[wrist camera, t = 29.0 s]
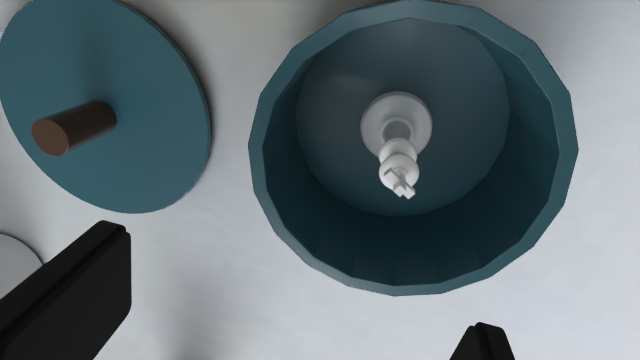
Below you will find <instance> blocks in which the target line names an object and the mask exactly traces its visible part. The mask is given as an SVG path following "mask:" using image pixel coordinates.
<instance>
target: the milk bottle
mask: <svg viewBox="0 0 640 360" xmlns="http://www.w3.org/2000/svg"><path fill="white" fill-rule="evenodd" d="M41 266H42V264H41V262H40V260H39V259H38V257H37V256H36V254H35V253H34V252H33V251H32V250H31V249H30V248H28V247H27V246H26V245H25V244H23V243H22V242H20V241H19V240H17V239H14V238H12V237H10V236H7V235H2V234H0V299H1V298H3V297H4V296H5V295H6V294H7V293H9V292H10V291H11V290H12V289H14V288H15V287H16V286H17V285H19V284H20V283H21V282H22V281H24V280H25V279H26V278H27V277H29V276H30V275H31V274H32V273H34V272H35V271H36V270H37V269H38V268H40V267H41Z"/></svg>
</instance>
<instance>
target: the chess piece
mask: <svg viewBox="0 0 640 360" xmlns="http://www.w3.org/2000/svg"><path fill="white" fill-rule="evenodd" d="M432 126H433V122H432V116H431V113H430V110H429V109H428V107H427V105H426V104H425V103H424V102H423V101H422V100H421V99H420V98H418V97H417V96H415V95H413V94H411V93H408V92H403V91H392V92H388V93H384V94H382V95H380V96H378V97H376V98H375V99H374V100H373V101H371V102H370V103H369V105H368V106H367V107H366V109H365V110H364V112H363V115H362V118H361V123H360V130H361V135H362V139H363V141H364V143H365V145H366V147H367V148H368V149H369V151H370V152H371V153H373V154H374V155H375V156H377V157H379V161H380V163H381V166H380V169H379V176H380V179H381V181H382V183H383V184H384V185H385V186H386V187H388V188H390V189H392V190H393V191H394V192H395V193H396V194H397V195H398V196H399V197H400V196H402V195H404V196H406V197H407V198H408V199H409V198H411V197H412V196H413V195H414V194H415V189H413V188H412V186H413V185H414V184H415V183H416V181H417V179H418V177H419V168H418V165H417V163H416V160H417V154H419V153H420V152H421V151H422V150H423V149H424V148H425V147H426V145H427V144H428V142H429V140H430V137H431V133H432Z"/></svg>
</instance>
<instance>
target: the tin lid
mask: <svg viewBox="0 0 640 360" xmlns="http://www.w3.org/2000/svg"><path fill="white" fill-rule="evenodd" d="M0 99H1V103H2V106H3V109H4V112H5V115H6V117H7V119H8V122H9V124H10V126H11V128H12V130H13V132H14V134H15V135H16V137H17V139H18V141H19V142H20V144H21V145H22V147H23V148H24V149H25V151H26V152H27V154H28V155H29V156H30V157H31V159H32V160H33V161H34V162H35V163H36V165H37V166H38V167H39V168H40V169H41V170H42V171H43V172H44V173H45V174H46V175H47V176H48V177H50V178H51V179H52V180H53V181H54V182H56V183H57V184H58V185H59V186H61V187H62V188H63V189H65V190H66V191H68V192H69V193H71V194H73V195H74V196H76V197H78V198H79V199H81V200H83V201H85V202H88V203H90V204H92V205H94V206H97V207H100V208H103V209H106V210H111V211H115V212H121V213H147V212H153V211H157V210H160V209H163V208H166V207H168V206H170V205H172V204H174V203H175V202H177V201H178V200H180V199H181V198H182V197H183V196H185V195H186V194H187V193H188V192H189V191H190V190H191V189H192V188H193V187H194V185H195V184H196V182H197V181H198V180H199V178H200V176H201V174H202V172H203V170H204V169H205V166H206V163H207V160H208V156H209V151H210V145H211V124H210V115H209V111H208V106H207V102H206V99H205V96H204V93H203V90H202V87H201V85H200V83H199V81H198V79H197V76H196V74H195V72H194V70H193V69H192V67H191V65H190V64H189V62H188V61H187V59H186V58H185V56H184V55H183V53H182V52H181V51H180V49H179V48H178V47H177V46H176V44H175V43H174V42H173V41H172V40H171V39H170V38H169V37H168V36H167V35H166V34H165V33H164V32H163V31H162V30H161V29H160V28H159V27H158V26H157V25H156V24H154V23H153V22H152V21H151V20H149V19H148V18H147V17H145V16H144V15H142V14H141V13H139V12H138V11H136V10H135V9H133V8H131V7H129V6H127V5H125V4H123V3H121V2H119V1H117V0H34V1H32V2H30V3H29V4H27V5H26V6H24V7H23V8H22V9H21V10H20V11H19V12H17V13H16V15H15V16H14V17H13V18H12V20H11V21H10V22H9V24H8V26H7V27H6V29H5V31H4V33H3V35H2V39H1V42H0Z"/></svg>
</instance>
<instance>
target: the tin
mask: <svg viewBox="0 0 640 360" xmlns="http://www.w3.org/2000/svg"><path fill="white" fill-rule="evenodd" d="M392 91H403V92H408V93H411V94H413V95H415V96H417V97H418V98H420V99H421V100H422V101H423V102H424V103H425V104H426V105H427V107H428V109H429V110H430V113H431V116H432V122H433V126H432V133H431V137H430V140H429V142H428V144H427V145H426V147H425V148H424V149H423V150H422V151H421V152H420V153H419V154H417V160H416V163H417V165H418V168H419V177H418V179H417V181H416V183H415V184H414V185H413V186H412V188H413V189H415V194H414V195H413V196H412V197H411V198H409V199H408V198H407V197H406V196H404V195H402V196H400V197H399V196H398V195H397V194H396V193H395V192H394V191H393V190H392V189H390V188H388V187H386V186H385V185H384V184H383V183H382V181H381V179H380V176H379V169H380V166H381V163H380V161H379V157H377V156H375V155H374V154H373V153H371V152H370V151H369V149H368V148H367V147H366V145H365V143H364V141H363V139H362V135H361V130H360V123H361V118H362V115H363V112H364V110H365V109H366V107H367V106H368V105H369V103H370V102H371V101H373V100H374V99H375V98H376V97H378V96H380V95H382V94H384V93H388V92H392ZM248 149H249V157H250V165H251V173H252V181H253V189H254V193H255V195H256V197H257V199H258V201H259V203H260V205H261V207H262V209H263V211H264V213H265V215H266V216H267V218H268V220H269V222H270V224H271V226H272V228H273V230H274V232H275V233H276V234H277V235H278V236H279V237H280V238H281V239H282V240H283V241H284V242H285V243H286V244H287V245H288V246H289V247H290V248H291V249H292V250H293V251H294V252H295V253H296V254H297V255H298V256H299V257H300V258H301V259H302V260H303V261H304V262H305V263H306V264H308V265H309V266H310V267H312V268H314V269H316V270H318V271H320V272H322V273H324V274H326V275H327V276H329V277H331V278H333V279H335V280H337V281H339V282H341V283H343V284H344V285H346V286H348V287H353V288H358V289H362V290H367V291H371V292H376V293H381V294H385V295H390V296H410V295H429V294H442V293H445V292H448V291H451V290H454V289H457V288H460V287H463V286H466V285H469V284H472V283H475V282H478V281H481V280H484V279H487V278H489V277H491V276H493V275H494V274H496V273H497V272H498V271H500V270H501V269H503V268H504V267H506V266H507V265H508V264H510V263H511V262H513V261H514V260H515V259H517V258H518V257H520V256H521V255H523V254H524V253H525V252H527V251H528V250H530V249H531V248H532V247H534V245H535V244H536V243H537V241H538V240H539V238H540V237H541V236H542V234H543V233H544V232H545V230H546V229H547V228H548V226H549V225H550V223H551V222H552V221H553V219H554V218H555V217H556V215H557V214H558V213H559V211H560V210H561V208H562V207H563V206H564V203H565V200H566V196H567V192H568V188H569V185H570V181H571V177H572V174H573V170H574V166H575V162H576V159H577V155H578V150H579V149H578V143H577V136H576V130H575V123H574V117H573V110H572V104H571V97H570V94H569V91H568V90H567V88H566V87H565V85H564V84H563V82H562V81H561V80H560V78H559V77H558V75H557V74H556V72H555V71H554V69H553V68H552V66H551V65H550V63H549V62H548V60H547V59H546V57H545V56H544V54H543V53H542V51H541V50H540V48H539V47H538V45H537V44H536V43H535V42H534V41H533V40H531V39H529V38H528V37H526V36H524V35H523V34H521V33H520V32H518V31H516V30H515V29H513V28H511V27H510V26H508V25H506V24H505V23H503V22H502V21H500V20H498V19H497V18H495V17H493V16H492V15H490V14H488V13H487V12H485V11H484V10H482V9H480V8H477V7H472V6H465V5H459V4H452V3H445V2H439V1H432V0H391V1H386V2H382V3H378V4H373V5H369V6H365V7H360V8H357V9H354V10H351V11H348V12H346V13H343V14H342V15H340V16H339V17H337V18H336V19H334V20H333V21H332V22H330V23H329V24H327V25H326V26H324V27H323V28H321V29H320V30H318V31H317V32H315V33H314V34H312V35H311V36H309V37H308V38H306V39H305V40H303V41H302V42H300V43H299V44H297V45H296V46H294V47H293V48H292V49H291V51H290V52H289V54H288V55H287V57H286V58H285V59H284V61H283V62H282V64H281V65H280V67H279V68H278V69H277V71H276V72H275V74H274V75H273V77H272V78H271V79H270V81H269V82H268V84H267V85H266V87H265V88H264V89H263V91H262V92H261V95H260V97H259V101H258V105H257V109H256V113H255V117H254V121H253V126H252V130H251V134H250V138H249V142H248Z"/></svg>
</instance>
